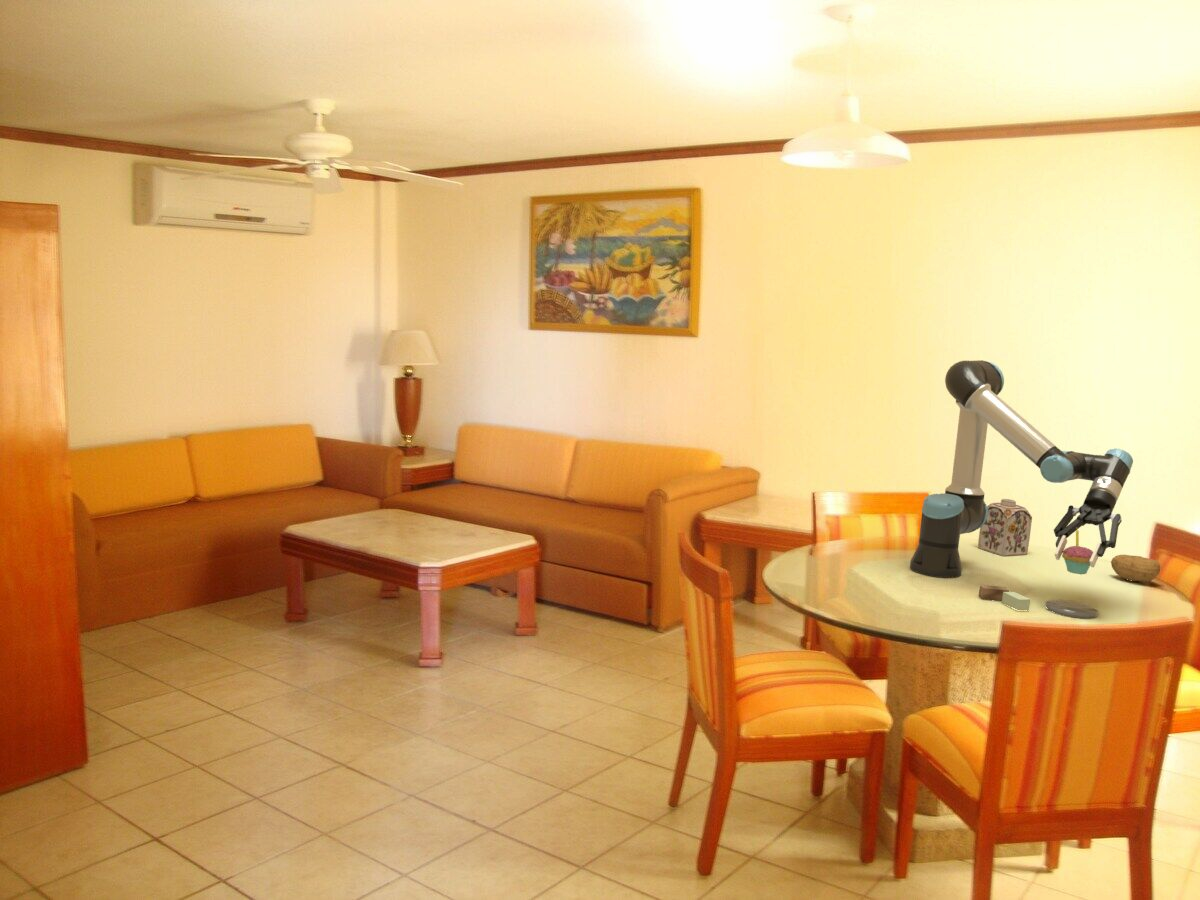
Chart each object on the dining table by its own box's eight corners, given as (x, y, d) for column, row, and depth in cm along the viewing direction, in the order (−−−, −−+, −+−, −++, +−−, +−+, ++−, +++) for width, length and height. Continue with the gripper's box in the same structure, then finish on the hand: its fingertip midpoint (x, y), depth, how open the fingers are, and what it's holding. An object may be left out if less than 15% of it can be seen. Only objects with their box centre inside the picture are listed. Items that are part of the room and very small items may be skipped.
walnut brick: (981, 600, 286) (983, 588, 285) (978, 596, 289) (980, 584, 289) (1007, 602, 285) (1009, 590, 284) (1004, 599, 288) (1005, 587, 288)
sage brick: (1001, 604, 283) (1003, 591, 283) (1012, 604, 284) (1014, 591, 283) (1017, 612, 276) (1019, 599, 276) (1028, 611, 277) (1030, 599, 277)
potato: (1114, 573, 327) (1118, 549, 326) (1162, 584, 318) (1166, 559, 316) (1103, 578, 320) (1107, 553, 319) (1152, 589, 311) (1156, 563, 309)
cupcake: (1053, 568, 281) (1058, 525, 279) (1076, 567, 284) (1082, 525, 282) (1077, 577, 273) (1083, 533, 271) (1101, 575, 276) (1107, 532, 274)
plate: (1044, 612, 277) (1045, 608, 276) (1045, 601, 288) (1046, 597, 288) (1097, 621, 271) (1098, 617, 271) (1096, 609, 283) (1096, 605, 283)
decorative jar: (976, 548, 351) (982, 496, 348) (1001, 546, 356) (1007, 495, 353) (1003, 556, 340) (1010, 504, 338) (1028, 555, 345) (1035, 503, 343)
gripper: (1061, 481, 290) (1031, 544, 280) (1141, 494, 275) (1113, 560, 266) (1065, 498, 294) (1036, 560, 285) (1145, 512, 280) (1117, 577, 270)
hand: (1073, 560), depth 275 cm, fingers closed on cupcake, 8 cm apart
